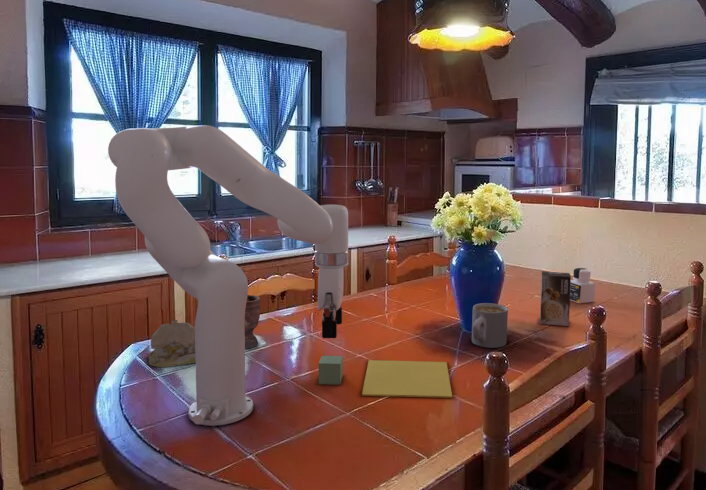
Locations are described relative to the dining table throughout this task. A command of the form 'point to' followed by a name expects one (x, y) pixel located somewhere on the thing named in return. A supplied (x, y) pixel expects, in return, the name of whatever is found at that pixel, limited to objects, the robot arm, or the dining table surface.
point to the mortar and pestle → (251, 319)
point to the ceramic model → (173, 345)
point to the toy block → (330, 370)
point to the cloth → (407, 379)
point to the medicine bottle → (582, 286)
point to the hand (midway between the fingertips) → (332, 330)
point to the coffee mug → (489, 325)
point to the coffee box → (555, 298)
